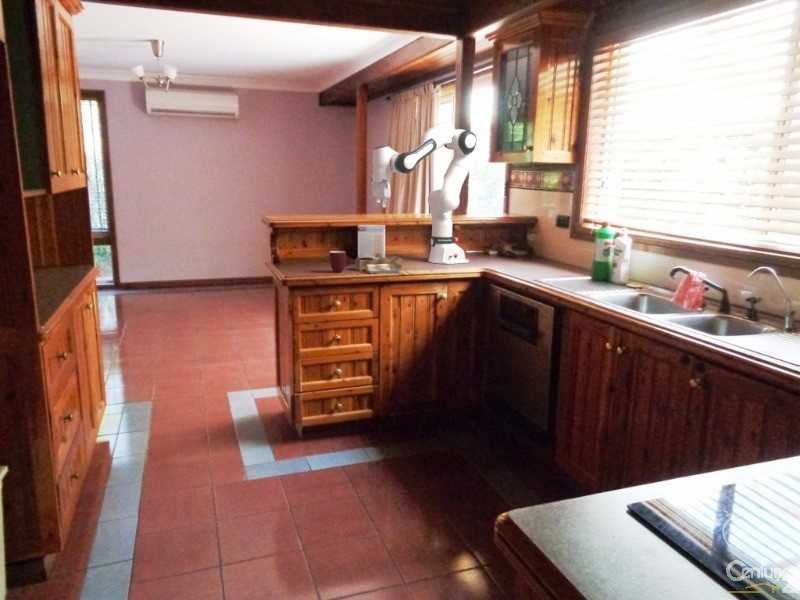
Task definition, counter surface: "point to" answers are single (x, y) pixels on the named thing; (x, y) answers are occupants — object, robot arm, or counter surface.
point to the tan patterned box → (379, 262)
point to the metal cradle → (370, 256)
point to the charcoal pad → (392, 270)
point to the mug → (338, 260)
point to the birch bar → (378, 267)
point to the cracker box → (371, 240)
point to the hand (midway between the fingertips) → (381, 206)
